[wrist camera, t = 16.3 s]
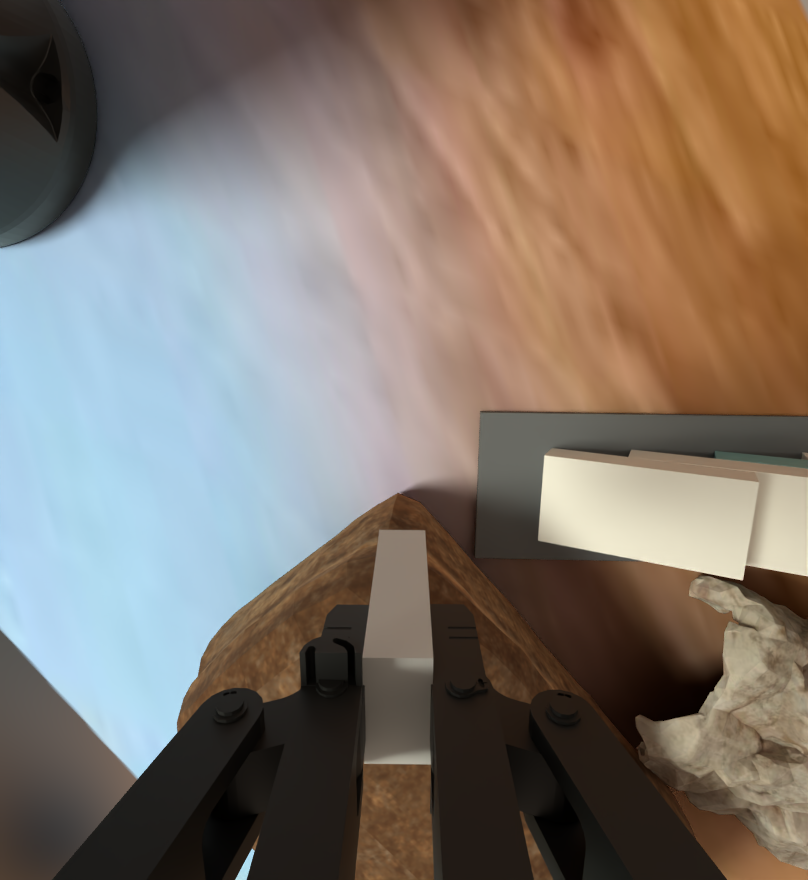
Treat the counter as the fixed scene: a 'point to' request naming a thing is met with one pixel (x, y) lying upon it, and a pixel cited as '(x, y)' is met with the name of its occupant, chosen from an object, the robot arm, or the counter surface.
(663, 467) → the domino
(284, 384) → the counter surface
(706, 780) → the rock
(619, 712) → the counter surface
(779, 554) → the domino
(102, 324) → the counter surface
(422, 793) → the bread
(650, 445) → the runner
